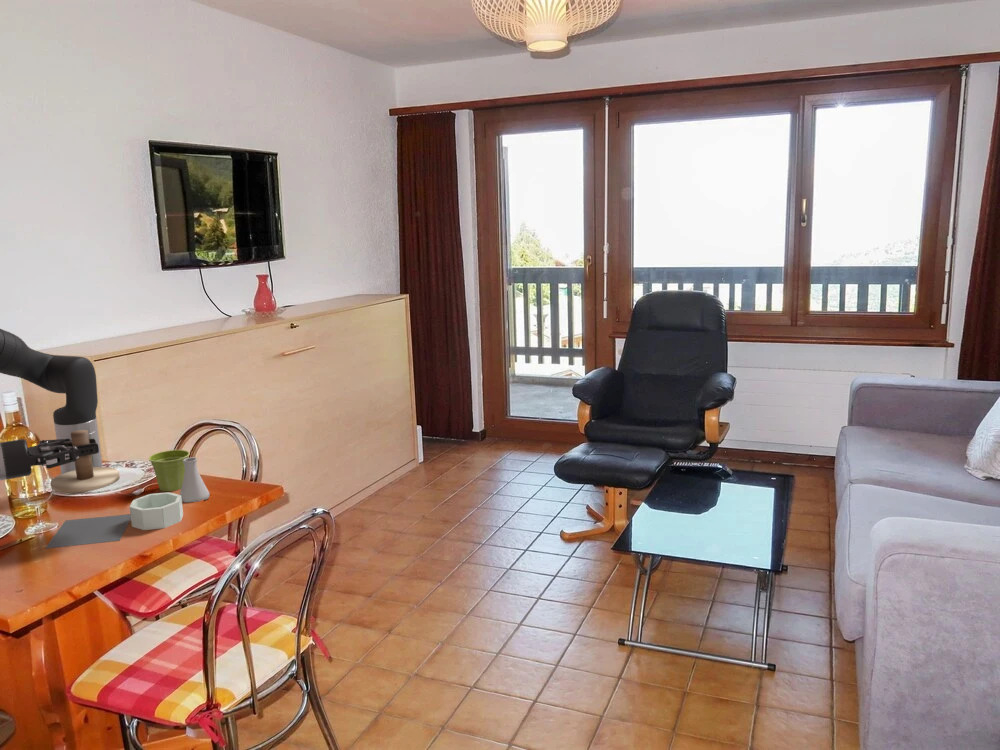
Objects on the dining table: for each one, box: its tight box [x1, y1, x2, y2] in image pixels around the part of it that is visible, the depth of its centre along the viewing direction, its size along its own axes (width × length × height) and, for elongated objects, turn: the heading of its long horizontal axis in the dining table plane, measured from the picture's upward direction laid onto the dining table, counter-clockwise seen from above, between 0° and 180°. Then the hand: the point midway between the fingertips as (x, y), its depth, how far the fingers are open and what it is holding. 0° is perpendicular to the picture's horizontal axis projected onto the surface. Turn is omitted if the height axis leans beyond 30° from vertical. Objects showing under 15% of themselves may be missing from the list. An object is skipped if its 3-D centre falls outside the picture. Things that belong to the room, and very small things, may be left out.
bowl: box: [129, 491, 184, 531], centre depth 173 cm, size 10×10×5 cm
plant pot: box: [148, 449, 191, 492], centre depth 193 cm, size 9×9×9 cm
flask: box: [179, 456, 211, 503], centre depth 186 cm, size 7×7×10 cm
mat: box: [45, 513, 131, 549], centre depth 168 cm, size 15×14×1 cm
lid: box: [49, 430, 121, 494], centre depth 165 cm, size 13×13×11 cm
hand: (96, 445), depth 166 cm, fingers closed on lid, 3 cm apart
